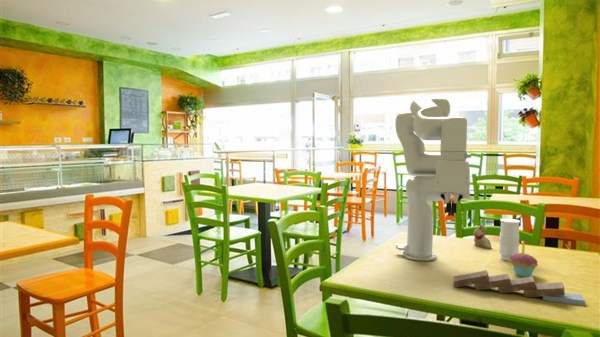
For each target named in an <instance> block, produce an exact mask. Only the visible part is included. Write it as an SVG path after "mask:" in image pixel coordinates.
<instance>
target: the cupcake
mask: <svg viewBox="0 0 600 337" xmlns="http://www.w3.org/2000/svg"><path fill="white" fill-rule="evenodd" d="M525 245H526V244H525V241H524V240H523V241H522V245H521V246H522V248H521V251H522V252H521V253H519V254H514V255H513V256H511V257H510V260H509V261H508V263H510V264H511V265H512V267H513V270H514V273H515V275H517V276H519V277H522V278H524V277H531V276H533V275H532V274H533V272H534V270H535V268H537V267H538V259H536V258H535V257H534V256H532V255H530V254H528V253H527V254H526V253H525V249H526V248H525Z"/></svg>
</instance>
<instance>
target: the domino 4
mask: <svg viewBox="0 0 600 337" xmlns="http://www.w3.org/2000/svg"><path fill="white" fill-rule="evenodd" d="M535 284H536V287H537V288H535V289H528V290H522V291H523V294H524V295H523V296H524V297H525V298H533V297H536V298H537V297H542V296H557V295H565V293H566V292H565V286H564V282H563V281H562V282H559V281H558V282H557V281H556V282H544V283H535Z"/></svg>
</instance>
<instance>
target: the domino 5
mask: <svg viewBox="0 0 600 337" xmlns="http://www.w3.org/2000/svg"><path fill="white" fill-rule="evenodd" d="M541 297H542V300H543V301H549V302H557V303H563V304H564V303H565V304H571V305H578V306H585V305H586V300H585V299H584V297H583V295H582V294H578V293H571V292H565V295H557V296H541Z"/></svg>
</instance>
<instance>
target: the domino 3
mask: <svg viewBox="0 0 600 337" xmlns="http://www.w3.org/2000/svg"><path fill="white" fill-rule="evenodd" d="M510 281H511V285H510V286H503V287H497V289H498V292H499V294H505V293H506V294H507V293H512V292H519V291H523V290H528V289H535V288H537V287H536V284H537V283H536V282H535V279H534V276H533V275H531V276H530V277H520V278H513V279H510Z"/></svg>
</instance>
